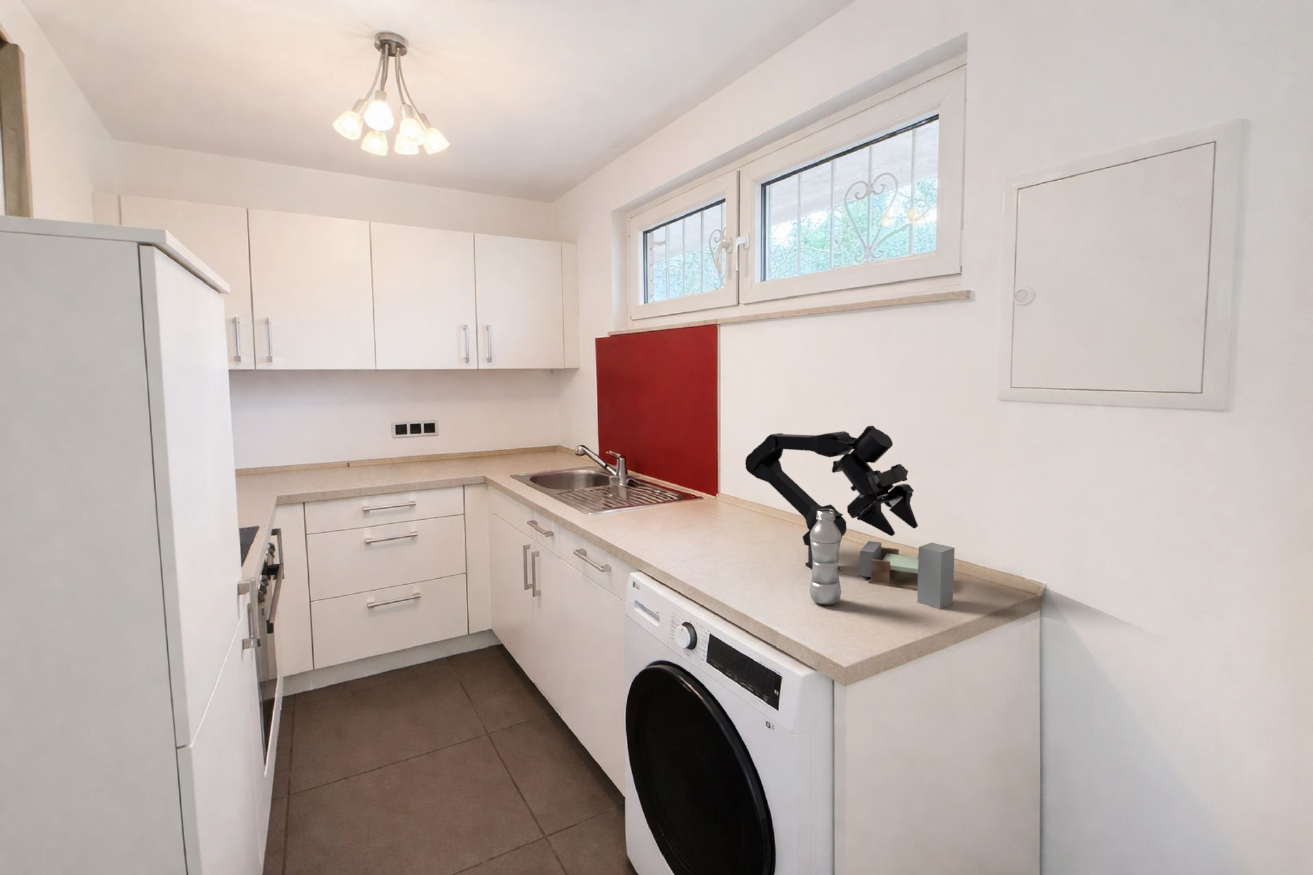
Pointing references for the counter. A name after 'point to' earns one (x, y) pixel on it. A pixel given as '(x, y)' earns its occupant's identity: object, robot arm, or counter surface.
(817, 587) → the plastic bottle
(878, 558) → the trapdoor
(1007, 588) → the counter surface
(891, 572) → the frame
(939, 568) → the grey rectangular block
